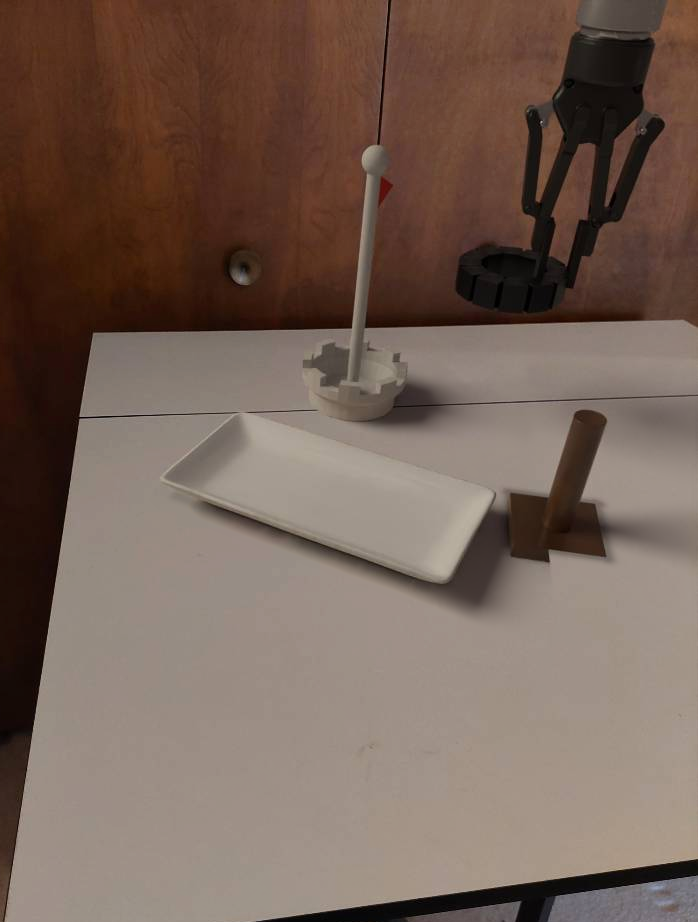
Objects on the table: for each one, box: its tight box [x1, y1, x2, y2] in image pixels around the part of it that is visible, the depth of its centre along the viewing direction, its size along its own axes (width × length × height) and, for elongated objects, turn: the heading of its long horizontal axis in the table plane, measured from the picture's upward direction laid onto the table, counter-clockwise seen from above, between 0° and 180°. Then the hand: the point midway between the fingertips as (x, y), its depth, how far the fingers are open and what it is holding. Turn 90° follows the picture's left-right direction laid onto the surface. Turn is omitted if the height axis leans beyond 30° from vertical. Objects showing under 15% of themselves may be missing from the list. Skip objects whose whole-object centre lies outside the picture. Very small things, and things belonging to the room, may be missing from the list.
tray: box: [159, 411, 497, 585], centre depth 83 cm, size 17×31×4 cm, turn 63°
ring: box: [454, 245, 569, 315], centre depth 89 cm, size 12×12×3 cm
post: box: [506, 409, 608, 562], centre depth 78 cm, size 9×9×14 cm
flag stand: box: [301, 144, 409, 422], centre depth 93 cm, size 13×13×30 cm
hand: (552, 281), depth 88 cm, fingers closed on ring, 3 cm apart
